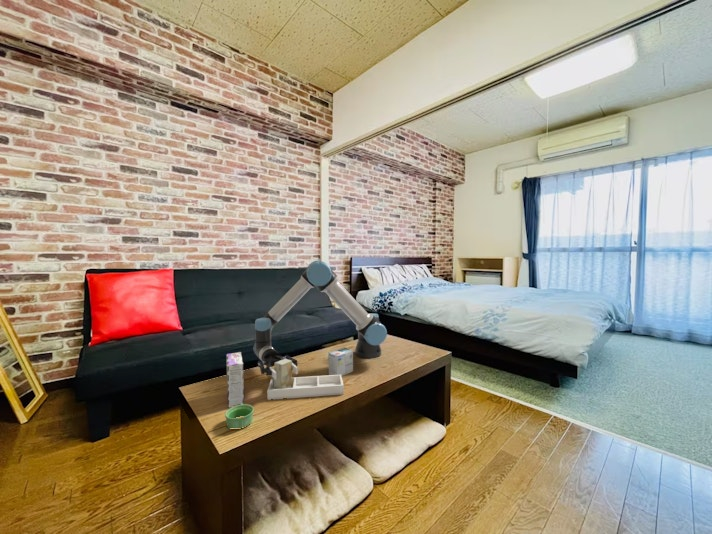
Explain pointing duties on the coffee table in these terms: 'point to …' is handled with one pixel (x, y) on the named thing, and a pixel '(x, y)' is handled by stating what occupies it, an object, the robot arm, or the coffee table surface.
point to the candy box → (235, 379)
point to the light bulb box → (340, 361)
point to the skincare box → (283, 374)
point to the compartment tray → (308, 387)
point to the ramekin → (237, 412)
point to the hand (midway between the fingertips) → (286, 373)
